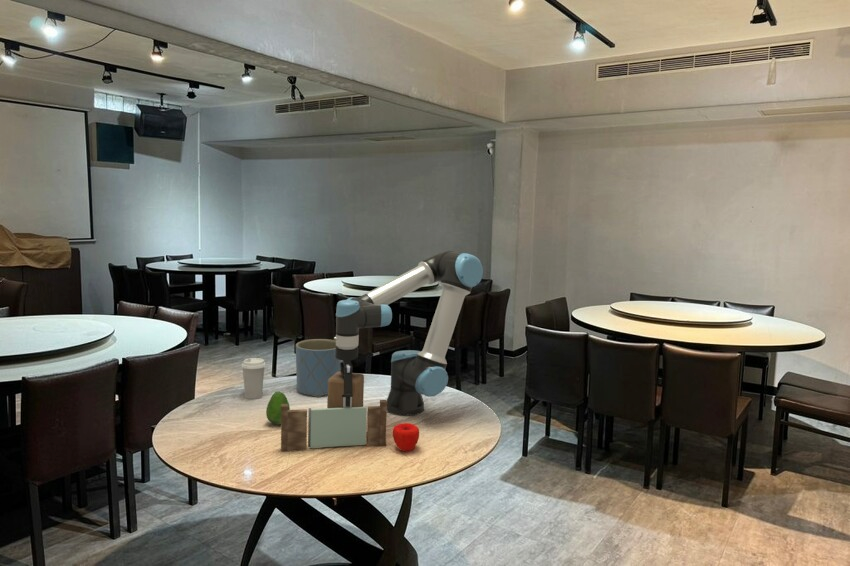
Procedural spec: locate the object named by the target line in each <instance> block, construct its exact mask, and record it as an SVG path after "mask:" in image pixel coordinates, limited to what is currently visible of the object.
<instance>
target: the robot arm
mask: <svg viewBox="0 0 850 566" xmlns="http://www.w3.org/2000/svg"><path fill="white" fill-rule="evenodd" d="M483 273H484V268H483V265H482V263H481V260H480V258H478V257H477V256H475V255H473V254H470V253H466V252H458V251H452V250H445V251H441V252H437V253H436V254H433V255H432V256H429V257H427V258H425V259H423V260H422V261H420V262H418V264H417V266H416V267H413V268H411V269H410V270H408V271H406V272H404V273H402V274H400V275H398V276H397V277H395V278H393V279H390V280H388V281H387V282H385V283H383V284H382V285H380V286H378V287H375V288H374V289H372V290H370V291H369V292H366V293H364V294H363V295H360V296H359V297H349V298H347V299H342V300H339V301H338V302H337V304H336V310H335V311H336V313H335V317H336V318H335V323H336V324H335V325H336V326H335V336H334V337H333V340H335V341H336V346H337V347H336V351H335V357H336V358H337V359H339V360H341V363H340V372H342V377H343V378H344V395H342V397H343V408H347V407H352V396H353V393H352V375H353V374H352V373H353V370H354V364H353V362H351V361H354V360H357V359H358V358H359V348H358V346H359V337H360V335H359V332H360V329H368V328H379V327H380V328H382V327H386V326H389V325H390V324H391V322H392V319H393V312H392V308H391V307H390V306H389V305H390V304H392V303H393V302H396V301H398V300H399V299H402V298H403V297H406V296H407V295H409V294H410V293H413V292H415V291H416V290H418V289H420V288H422V287H424V286H426V285H432V284H434V283H436V282H440V285H441V287H442V291H441V293H440V297H439V300H438V303H437V306H436V309H435V313H434V315H433V317H432V322H431V323H430V324H431V325H430V326H429V330H428V333H427V336H426V339H425V342H424V346H423V348H422V350H421V351H420V350H413V349H412V350H411V349H409V350H397V351H395V352H393V353H392V354H391V360H390V363H391V365H390V366H391V367H390V389H389V393H388V395H387V397H386V401H387V413H389V414H392V415H395V416H396V415H397V416H414V415H419V414H421V413H423V412H424V411H425V402H424V398H423V396H425V397H430V398H431V397H435V396H437V395H439V394H441V393H442V392H444V390H445V389H446V387H447V385H448V381H449V375H448V372H447V371H446V368H447V365H448V363H447V359H446V355H447V352H448V349H449V346H450V342H451V340H452V337H453V334H454V331H455V327H456V326H457V325H456V324H457V321H458V319H459V315H460V313H461V310H462V306H463V303H464V300H465V297H467V296H468V295H470V294H471V292H472V289H473V287H476V286H477V285H479V283H480V282H481V281H482V278H483Z"/></svg>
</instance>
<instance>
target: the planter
mask: <svg viewBox="0 0 850 566" xmlns="http://www.w3.org/2000/svg"><path fill="white" fill-rule="evenodd" d="M336 347H337V346H336V340H334V339H327V338H314V339H304V340H301V341H298V342H297V343H296V344H295V368H296V369H295V371H296V376H295V377H296V391H297V392H298V393H300V394H303V395H304V394H305V395H307V396H313V397H316V398H321V397H323V396H325V395H328V379H329V378H330V377H332V376H333V375H334V374H335V373H337V372H340V363H341V360H339V359H337V358H336V357H335V351H336Z"/></svg>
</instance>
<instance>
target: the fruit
mask: <svg viewBox="0 0 850 566" xmlns="http://www.w3.org/2000/svg"><path fill="white" fill-rule="evenodd" d="M281 404H288V410H291V408H290V402H289V401H288V398H287V397H286V394H284V392H282V391H275V392H274V393H273V394H272V395H271V397H270V399H269V401H268V403H267V406H266V413H265V414H266V419H267V420H268V421H269V422H270V423H271V424H272V425H276V426H281Z"/></svg>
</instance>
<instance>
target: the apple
mask: <svg viewBox="0 0 850 566" xmlns="http://www.w3.org/2000/svg"><path fill="white" fill-rule="evenodd" d="M392 438H393V442H394V443H395V445H396V448H397V449H399V450H400V451H403V452H411V451H413V450H414V448H415V447H417V444H418V442H419V440H420V429H419V427H418V426H417V425H415V424H413V423H410V422H403V423H398V424H396V425H394V427H393V428H392Z"/></svg>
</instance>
